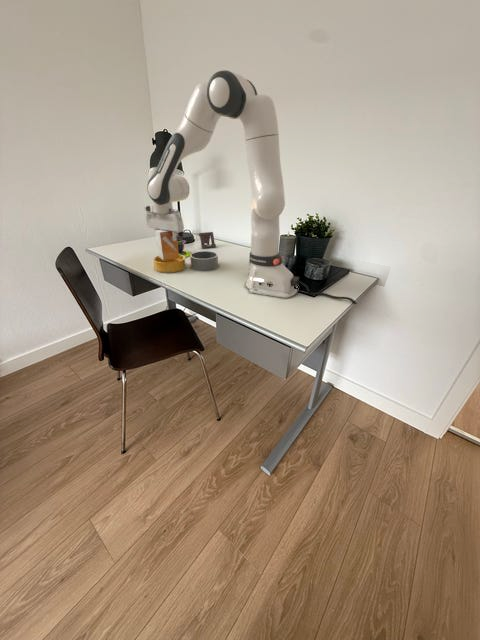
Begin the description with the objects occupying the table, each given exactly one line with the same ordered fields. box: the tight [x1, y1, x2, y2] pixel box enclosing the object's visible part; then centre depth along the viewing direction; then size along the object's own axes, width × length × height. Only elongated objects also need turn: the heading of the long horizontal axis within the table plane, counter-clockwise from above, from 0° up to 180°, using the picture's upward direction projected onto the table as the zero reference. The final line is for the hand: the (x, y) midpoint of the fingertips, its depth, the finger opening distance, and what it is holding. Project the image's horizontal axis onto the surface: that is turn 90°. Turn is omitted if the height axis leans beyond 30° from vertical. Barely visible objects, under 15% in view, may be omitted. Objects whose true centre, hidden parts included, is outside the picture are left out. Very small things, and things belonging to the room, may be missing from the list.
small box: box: [154, 229, 179, 260], centre depth 127 cm, size 8×6×13 cm
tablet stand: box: [198, 231, 217, 249], centre depth 166 cm, size 9×8×8 cm
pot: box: [189, 250, 219, 272], centre depth 133 cm, size 14×14×6 cm
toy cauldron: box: [177, 234, 191, 258], centre depth 150 cm, size 15×15×11 cm
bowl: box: [152, 255, 187, 274], centre depth 131 cm, size 15×15×5 cm
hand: (166, 239), depth 125 cm, fingers closed on small box, 7 cm apart
